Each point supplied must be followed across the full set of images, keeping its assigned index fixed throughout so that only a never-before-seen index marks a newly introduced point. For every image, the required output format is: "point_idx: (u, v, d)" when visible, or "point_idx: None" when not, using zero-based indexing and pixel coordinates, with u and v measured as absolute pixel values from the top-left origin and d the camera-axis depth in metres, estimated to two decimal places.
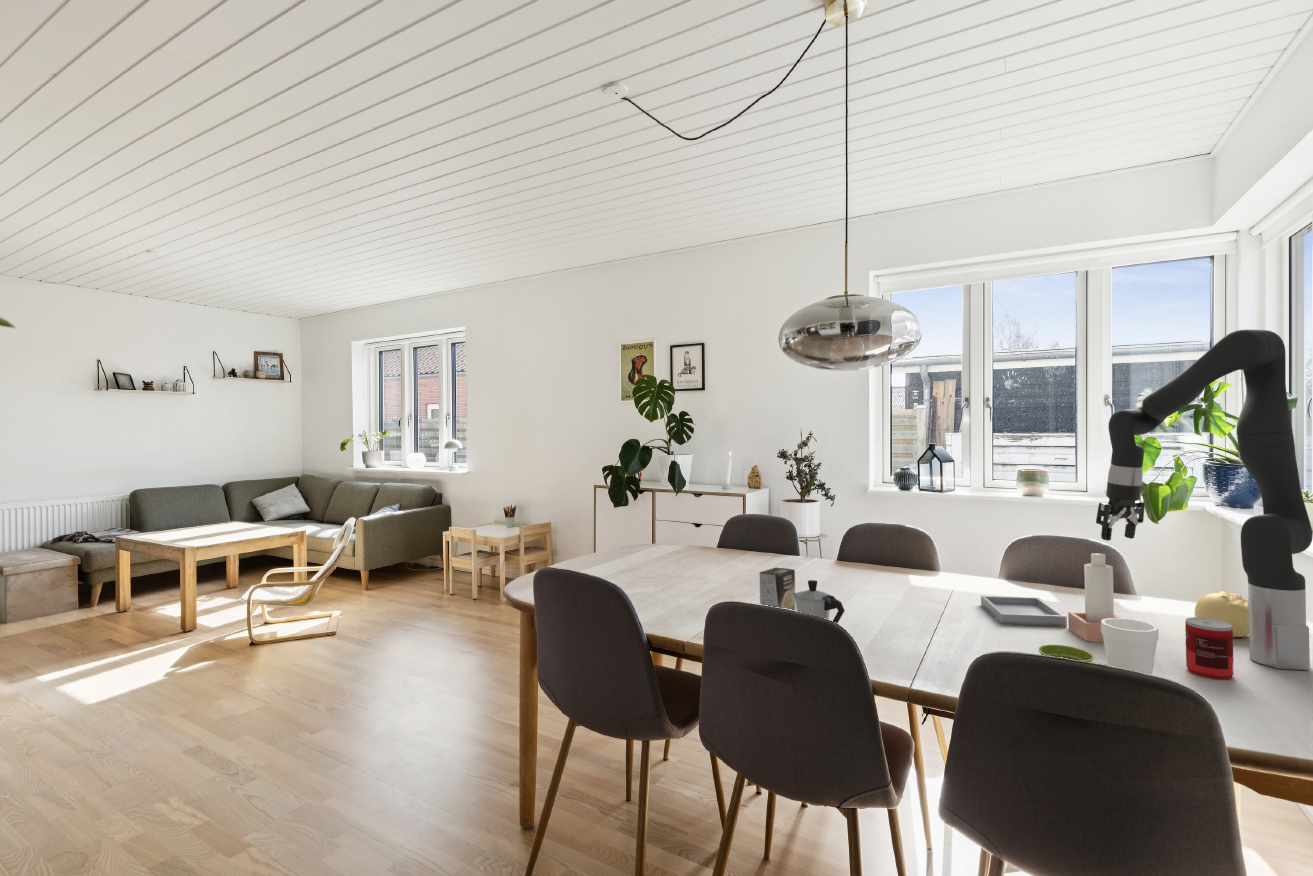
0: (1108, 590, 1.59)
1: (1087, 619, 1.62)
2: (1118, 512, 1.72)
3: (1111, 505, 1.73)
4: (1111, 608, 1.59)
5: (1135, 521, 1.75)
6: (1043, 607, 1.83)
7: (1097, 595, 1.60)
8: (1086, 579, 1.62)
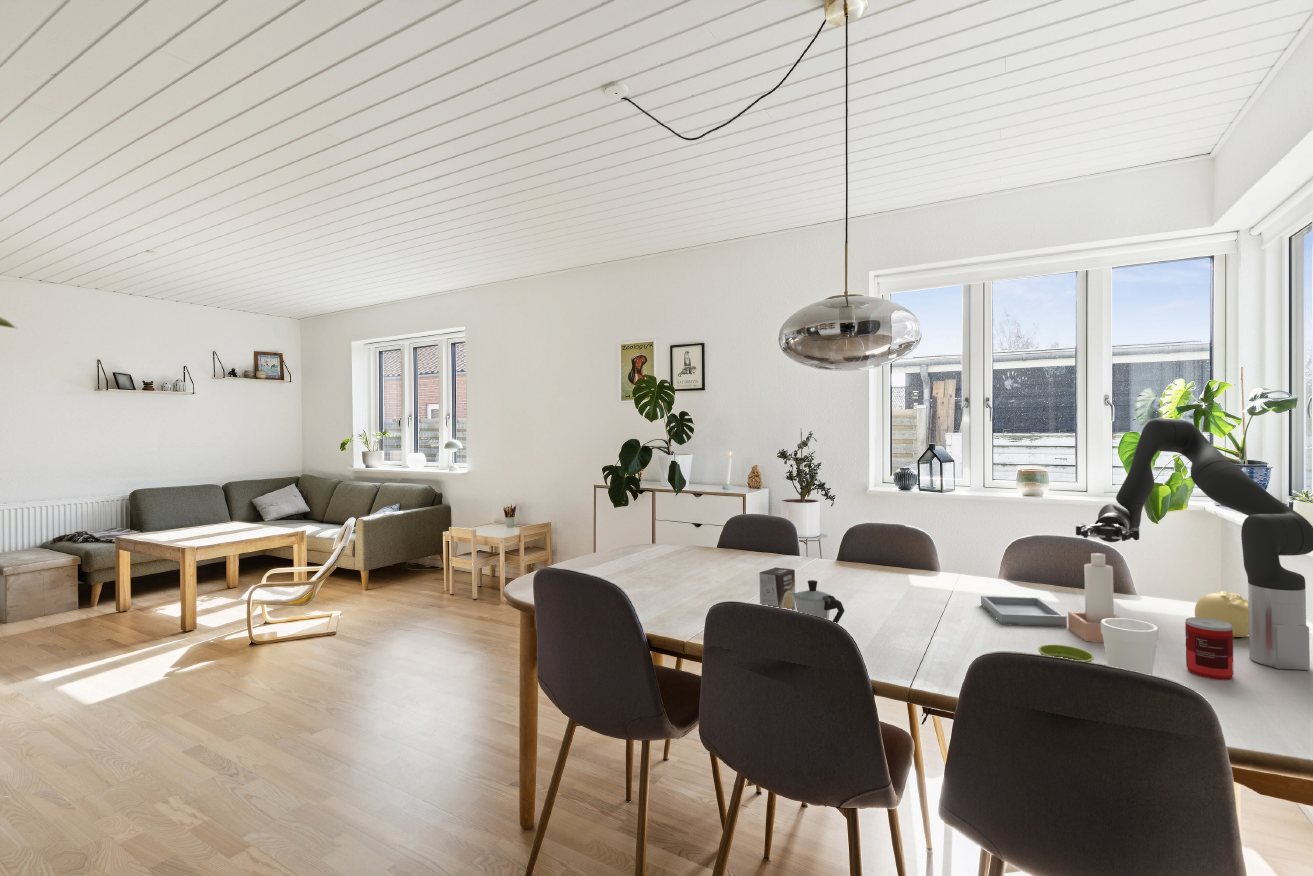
0: (1108, 590, 1.59)
1: (1087, 619, 1.62)
2: None
3: None
4: (1111, 608, 1.59)
5: (1125, 529, 1.71)
6: (1043, 607, 1.83)
7: (1097, 595, 1.60)
8: (1086, 579, 1.62)
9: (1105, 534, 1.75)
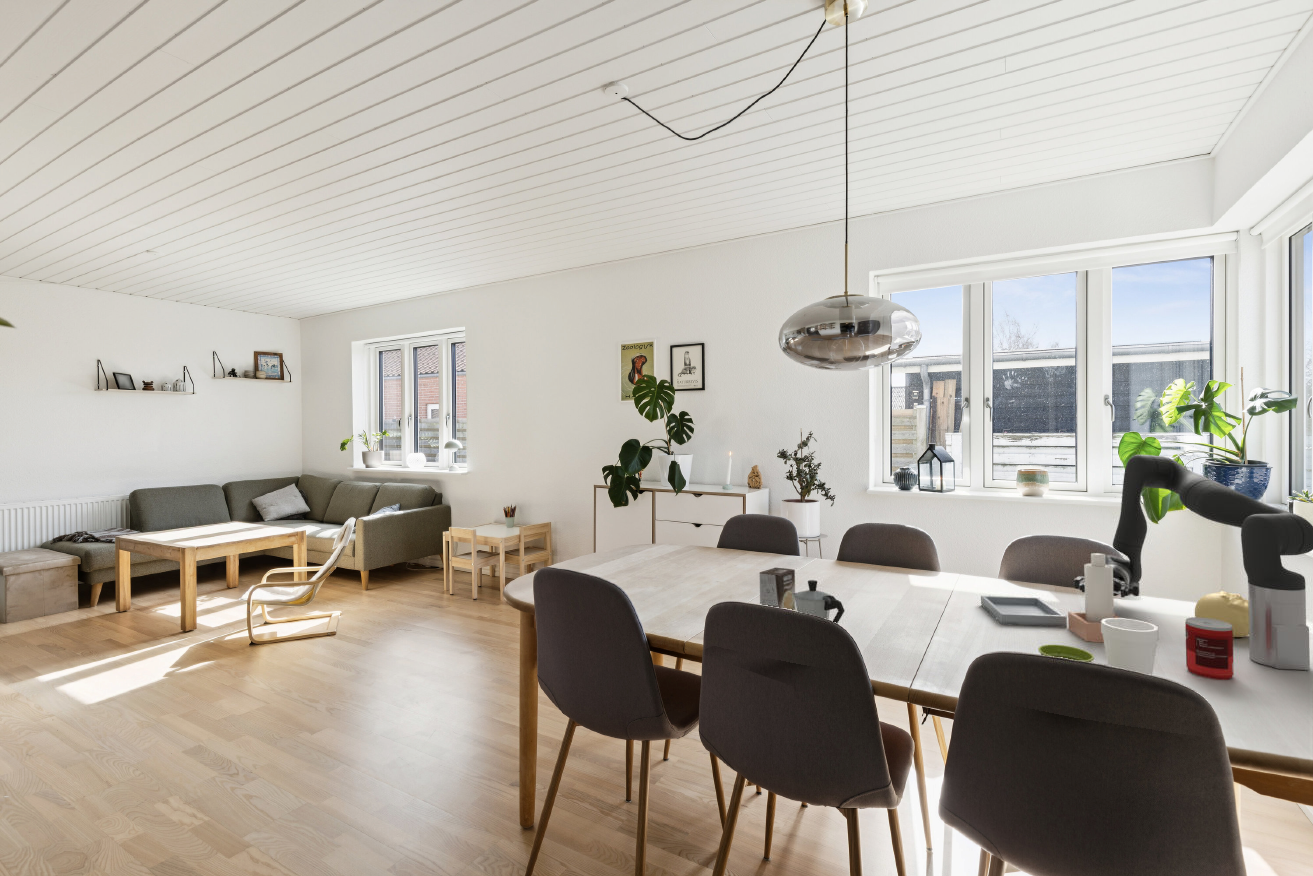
0: (1108, 590, 1.59)
1: (1087, 619, 1.62)
2: None
3: None
4: (1111, 608, 1.59)
5: (1124, 585, 1.67)
6: (1043, 607, 1.83)
7: (1097, 595, 1.60)
8: (1086, 579, 1.62)
9: None
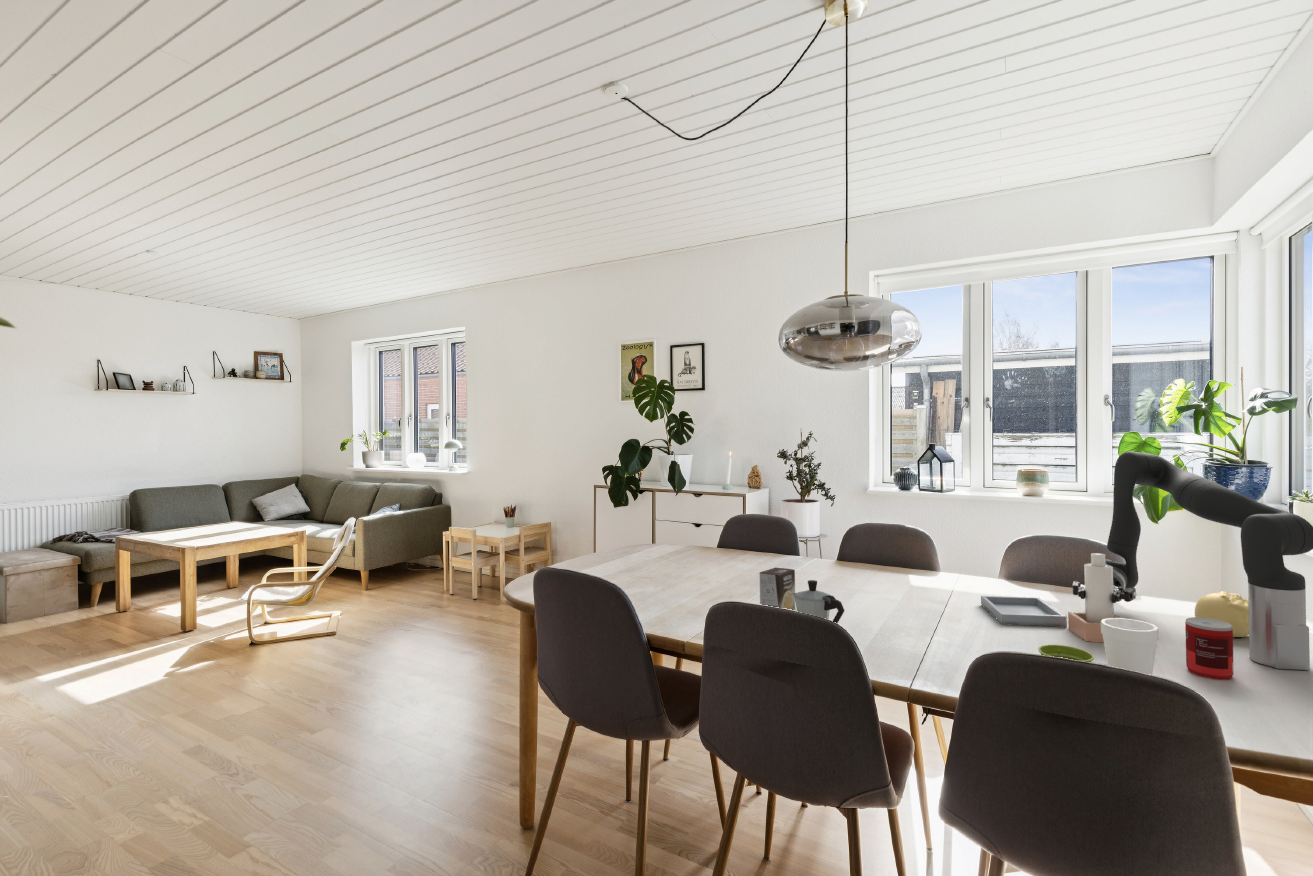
0: (1108, 590, 1.59)
1: (1087, 619, 1.62)
2: None
3: (1084, 585, 1.71)
4: (1111, 608, 1.59)
5: (1116, 590, 1.62)
6: (1043, 607, 1.83)
7: (1097, 595, 1.60)
8: (1086, 579, 1.62)
9: None
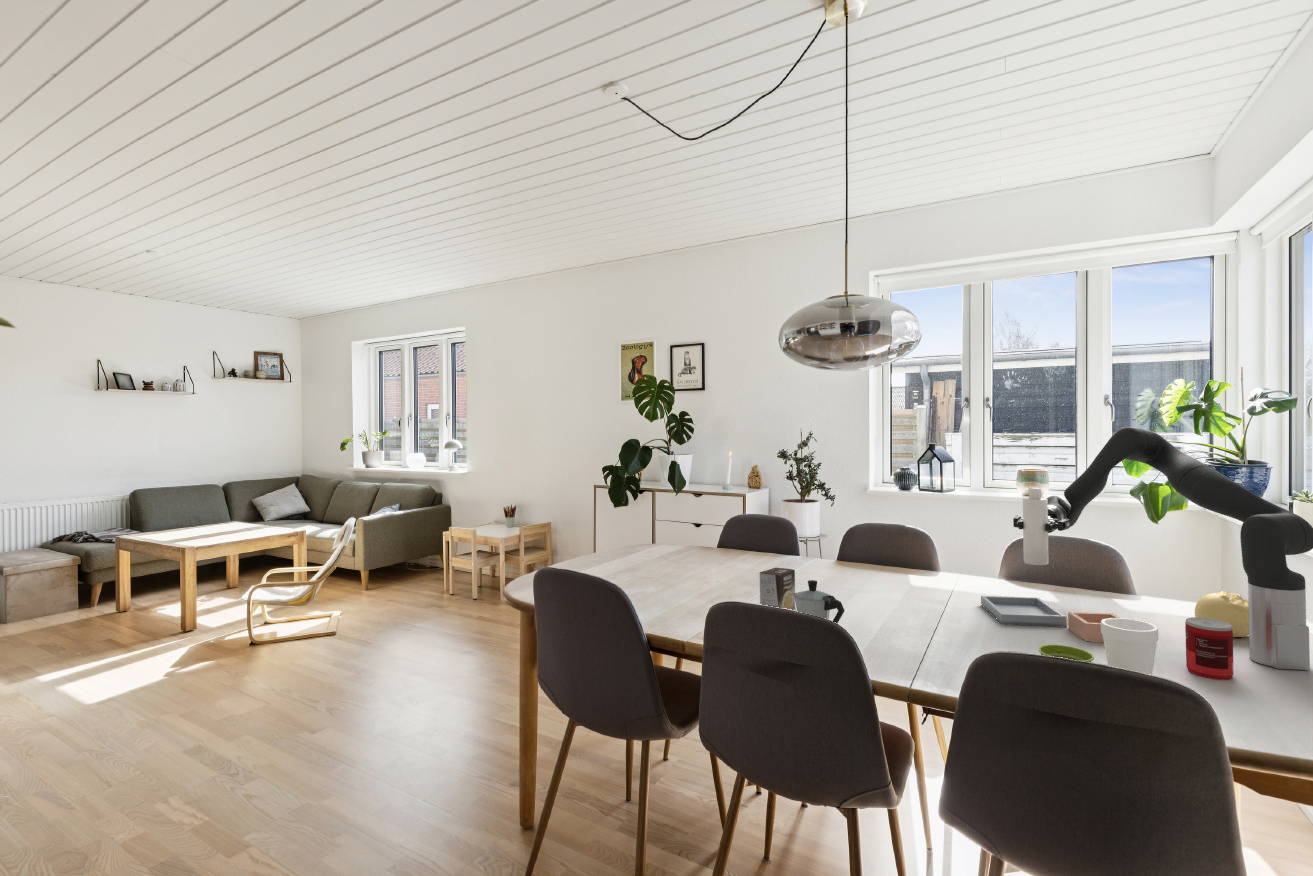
0: (1043, 520, 1.74)
1: (1024, 547, 1.77)
2: None
3: None
4: (1045, 536, 1.74)
5: (1051, 520, 1.77)
6: (1043, 607, 1.83)
7: (1032, 524, 1.75)
8: (1024, 511, 1.77)
9: None
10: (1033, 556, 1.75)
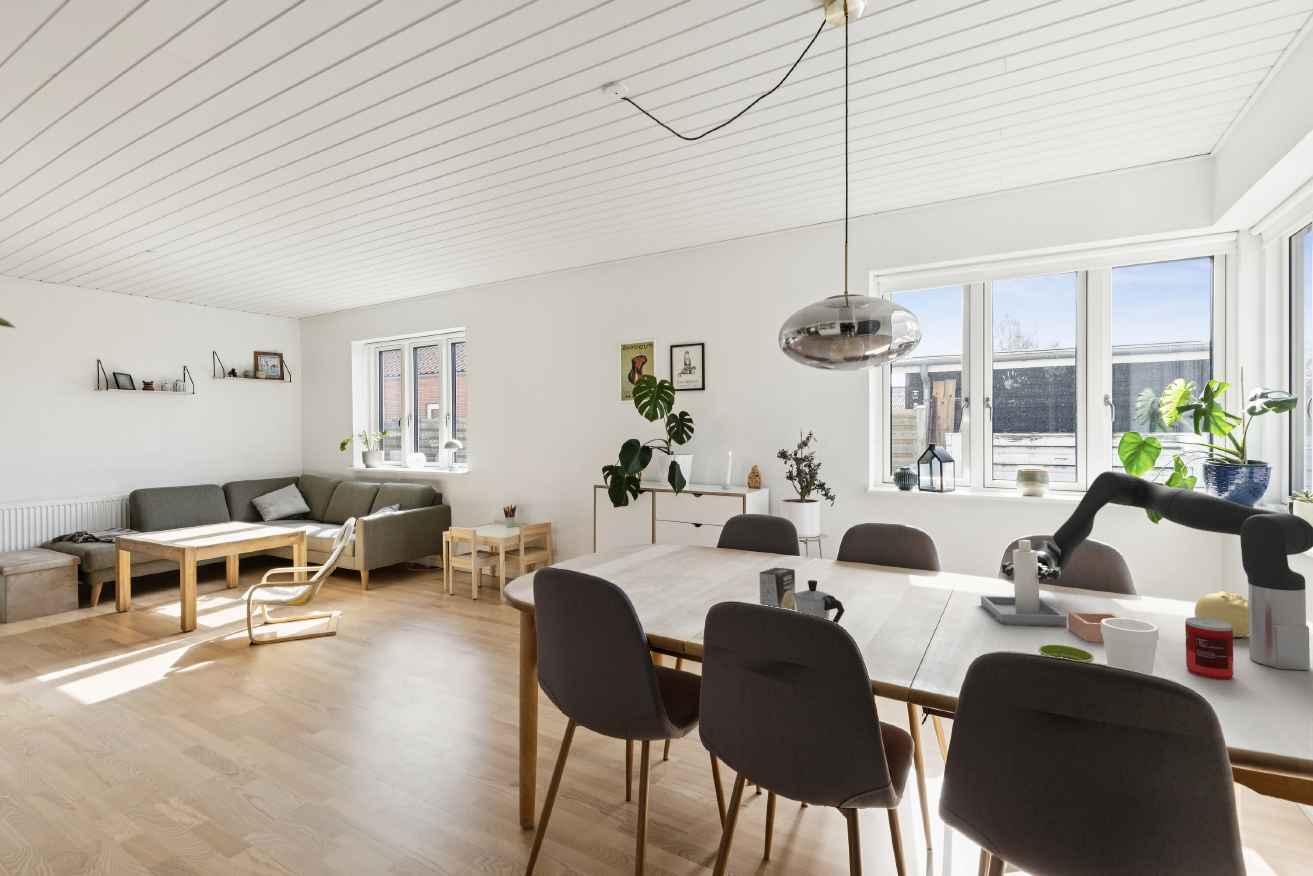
0: (1033, 573, 1.76)
1: (1016, 599, 1.80)
2: None
3: None
4: (1036, 589, 1.77)
5: (1045, 569, 1.79)
6: (1043, 607, 1.83)
7: (1023, 577, 1.77)
8: (1014, 563, 1.80)
9: None
10: (1024, 608, 1.77)
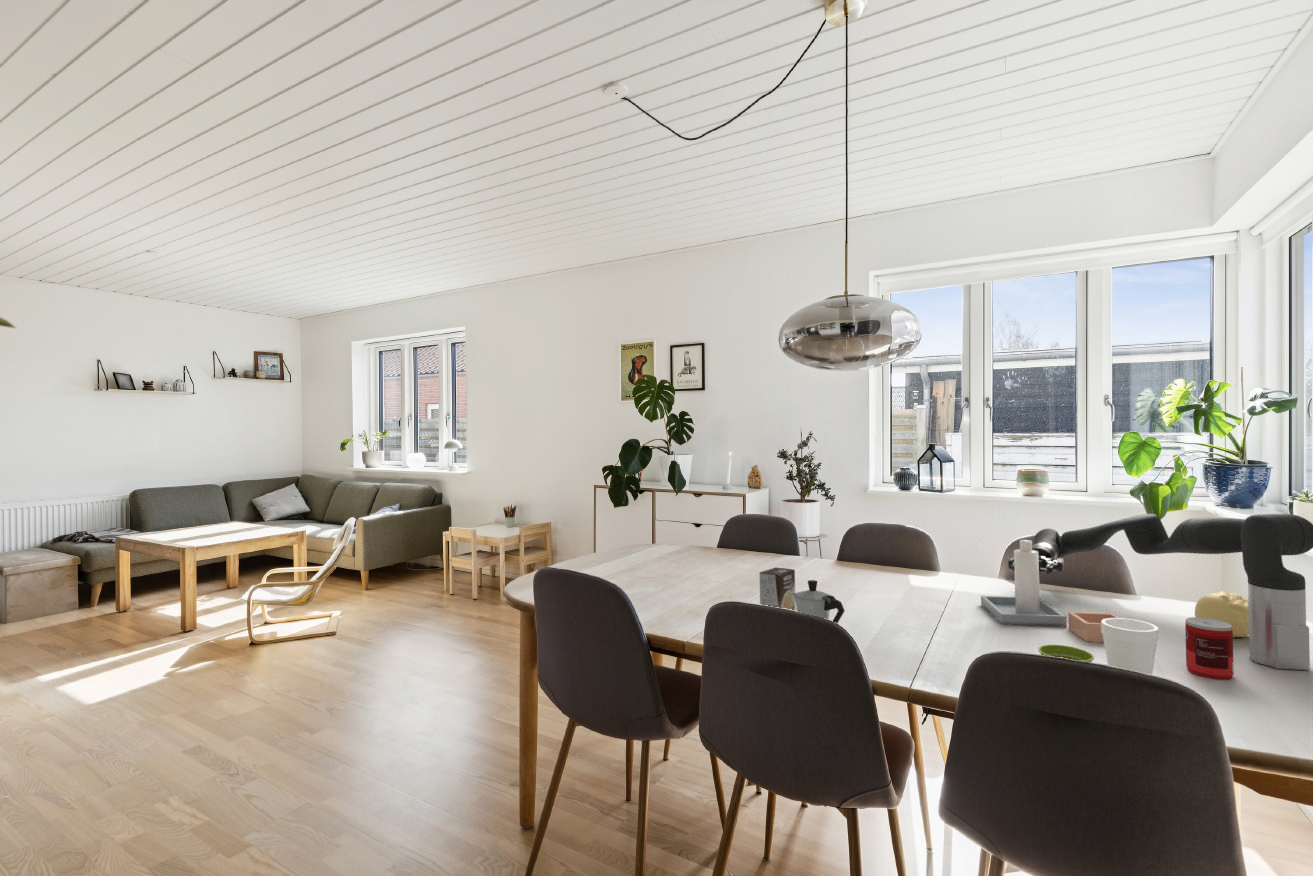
0: (1034, 573, 1.76)
1: (1016, 599, 1.80)
2: None
3: None
4: (1036, 589, 1.77)
5: (1050, 562, 1.88)
6: (1043, 607, 1.83)
7: (1024, 577, 1.77)
8: (1015, 563, 1.80)
9: None
10: (1024, 608, 1.77)
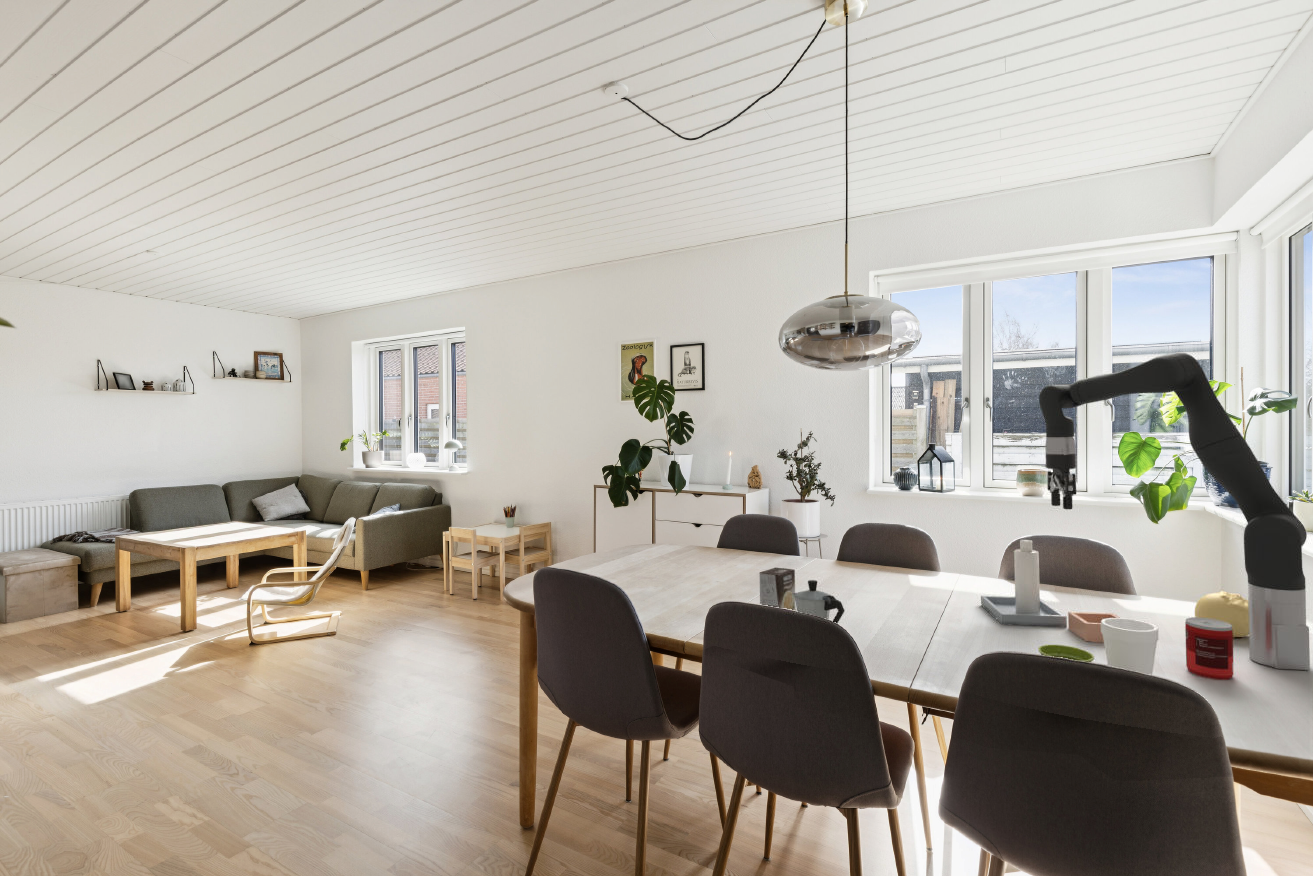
0: (1034, 573, 1.76)
1: (1016, 599, 1.80)
2: None
3: None
4: (1036, 589, 1.77)
5: (1062, 491, 1.82)
6: (1043, 607, 1.83)
7: (1024, 577, 1.77)
8: (1015, 563, 1.79)
9: None
10: (1024, 608, 1.77)
